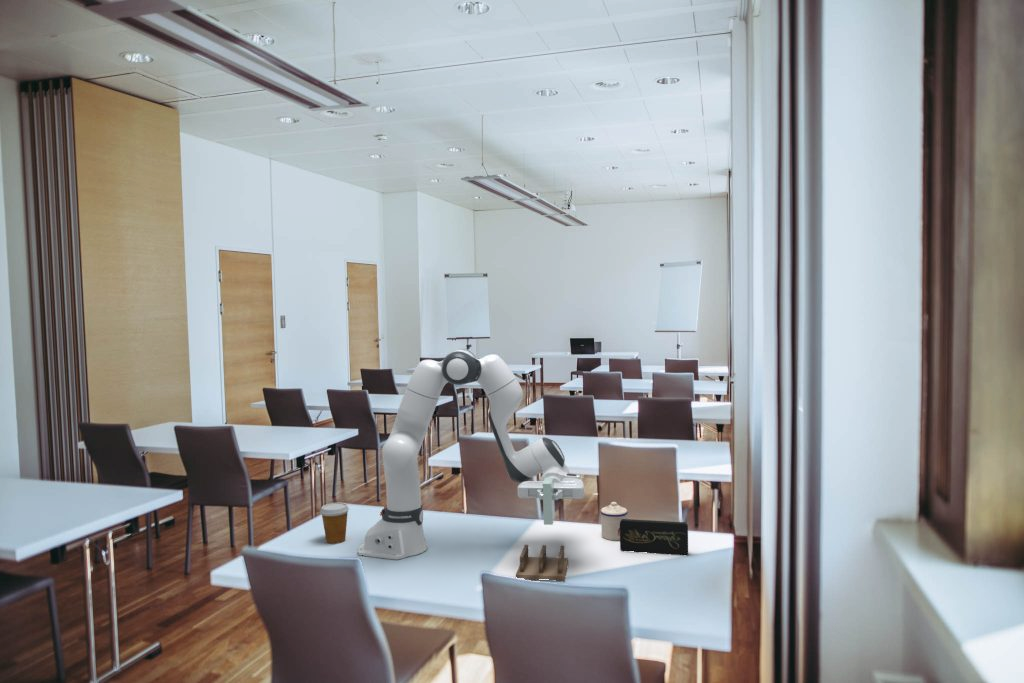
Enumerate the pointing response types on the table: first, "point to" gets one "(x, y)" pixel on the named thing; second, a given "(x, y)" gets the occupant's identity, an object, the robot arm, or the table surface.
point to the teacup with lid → (612, 520)
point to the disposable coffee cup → (335, 521)
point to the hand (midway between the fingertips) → (548, 497)
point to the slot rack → (542, 566)
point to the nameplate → (654, 536)
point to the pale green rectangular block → (548, 501)
